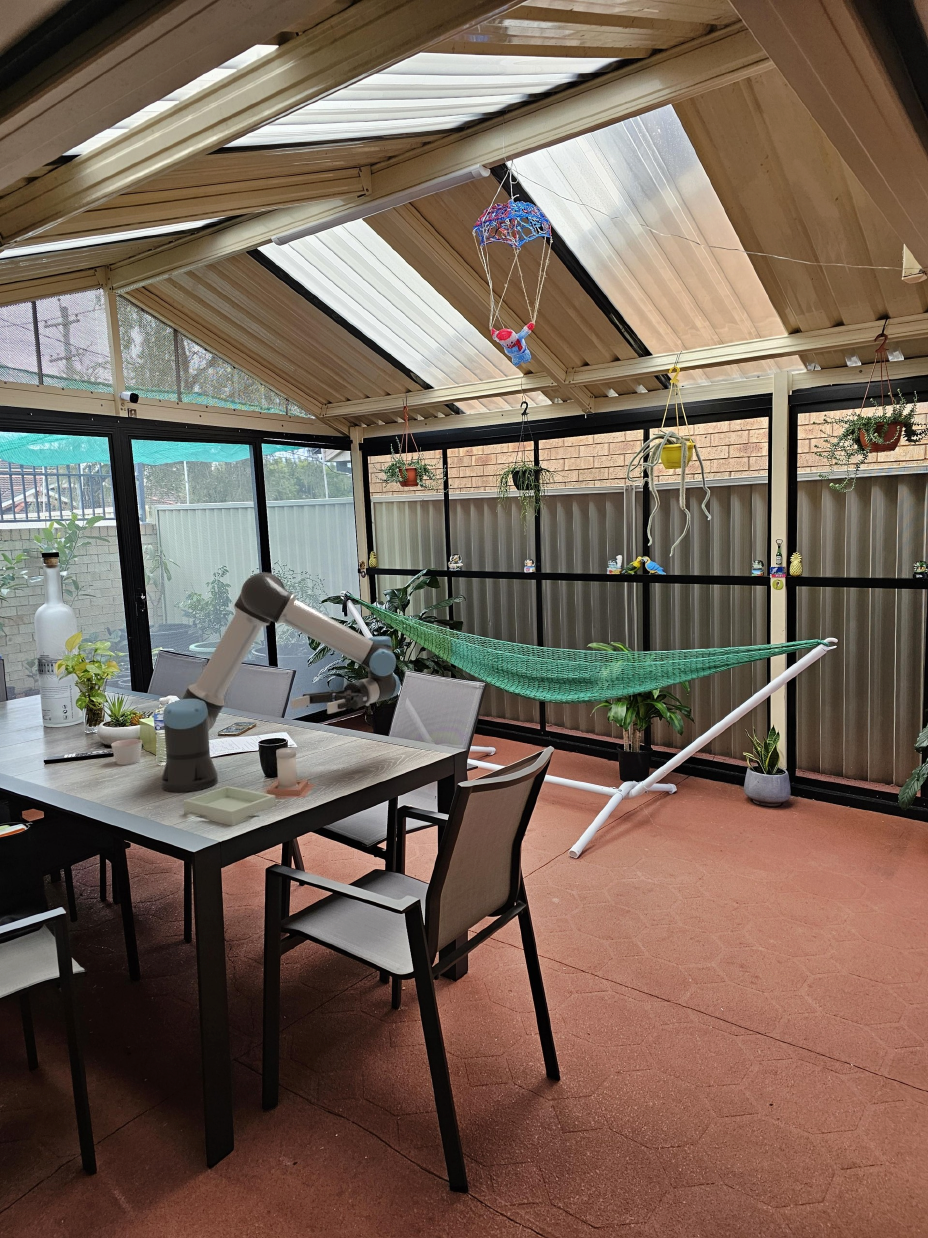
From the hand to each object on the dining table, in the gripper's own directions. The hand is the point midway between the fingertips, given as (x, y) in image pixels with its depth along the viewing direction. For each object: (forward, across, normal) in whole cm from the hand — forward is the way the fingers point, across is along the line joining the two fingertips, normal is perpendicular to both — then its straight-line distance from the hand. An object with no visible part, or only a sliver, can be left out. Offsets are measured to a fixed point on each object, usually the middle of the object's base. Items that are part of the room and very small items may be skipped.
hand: (309, 706), depth 231 cm
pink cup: (+10, +70, -22) cm, 74 cm away
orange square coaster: (+10, 0, -22) cm, 24 cm away
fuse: (+10, 0, -21) cm, 23 cm away
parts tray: (+27, +2, -22) cm, 35 cm away
